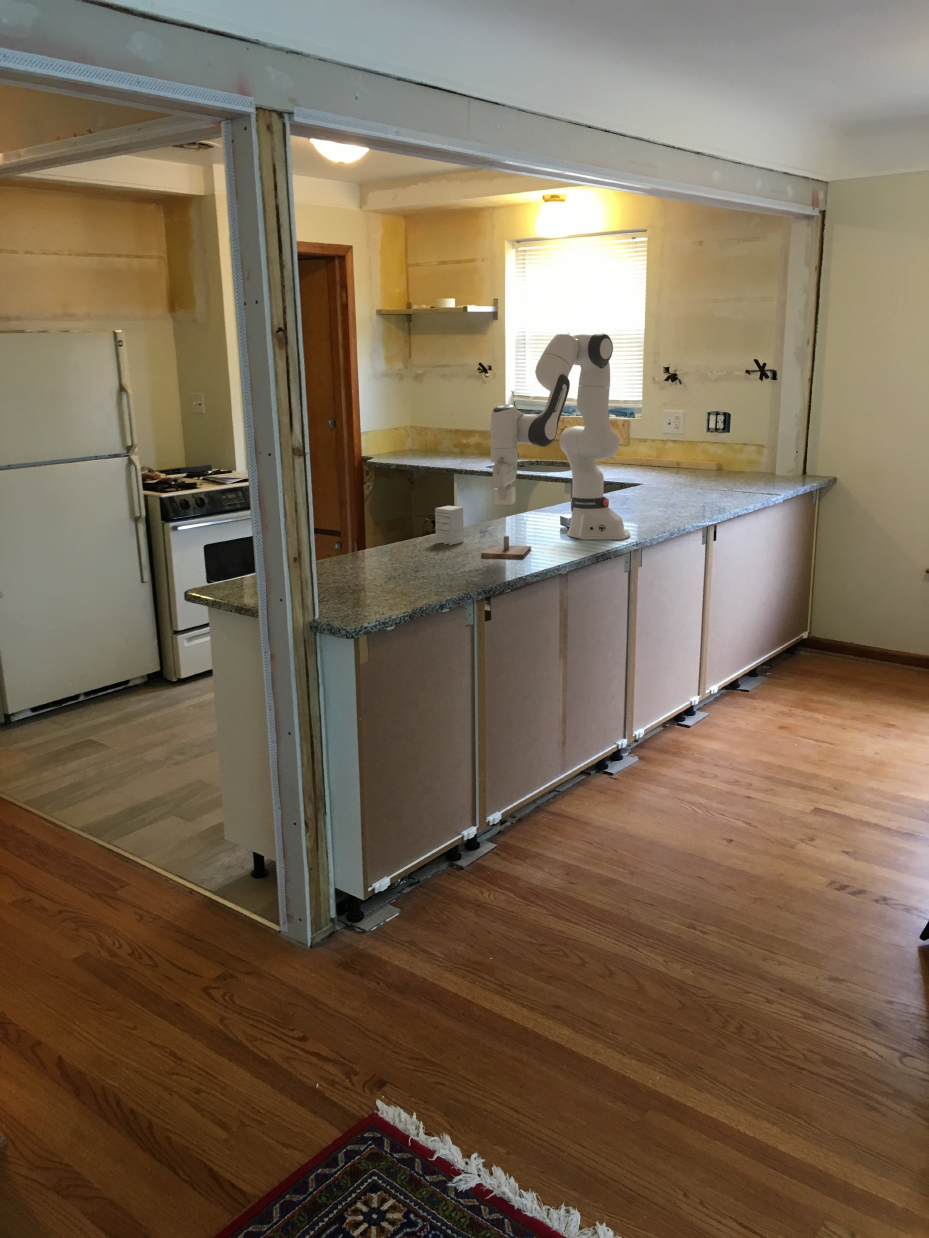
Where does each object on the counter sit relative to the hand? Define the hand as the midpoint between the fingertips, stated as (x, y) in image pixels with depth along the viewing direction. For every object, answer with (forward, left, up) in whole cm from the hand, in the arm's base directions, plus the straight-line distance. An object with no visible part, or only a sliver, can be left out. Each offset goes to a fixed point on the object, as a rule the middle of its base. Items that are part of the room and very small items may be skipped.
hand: (504, 498), depth 328 cm
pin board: (0, 0, -19) cm, 19 cm away
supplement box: (+24, -16, -19) cm, 34 cm away
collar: (0, 0, -2) cm, 2 cm away
